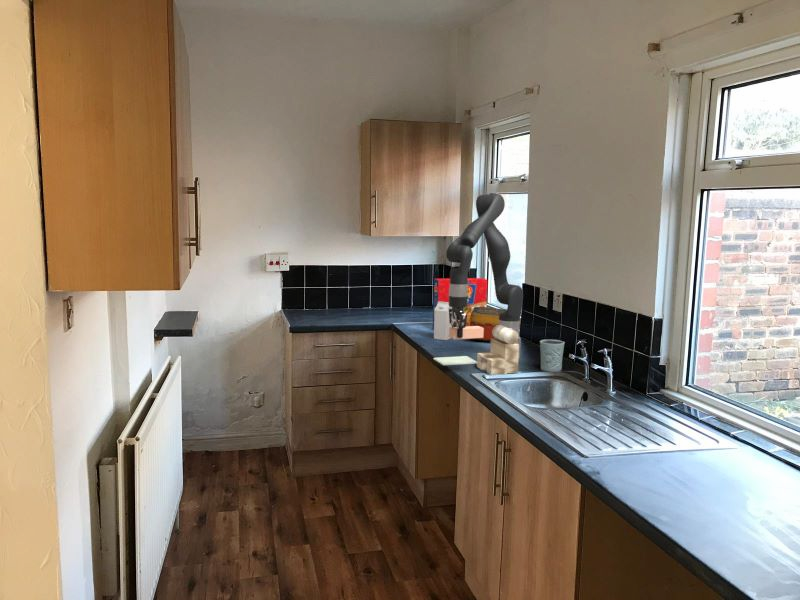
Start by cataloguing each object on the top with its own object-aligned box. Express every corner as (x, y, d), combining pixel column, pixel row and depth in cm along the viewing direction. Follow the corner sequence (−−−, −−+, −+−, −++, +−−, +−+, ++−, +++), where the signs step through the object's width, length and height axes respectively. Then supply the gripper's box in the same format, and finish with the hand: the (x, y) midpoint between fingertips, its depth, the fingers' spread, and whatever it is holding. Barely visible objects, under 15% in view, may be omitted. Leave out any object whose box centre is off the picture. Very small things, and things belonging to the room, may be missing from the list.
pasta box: (437, 331, 364) (438, 280, 360) (432, 329, 371) (433, 278, 367) (485, 330, 371) (487, 279, 367) (480, 327, 379) (481, 278, 375)
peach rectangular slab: (478, 335, 279) (478, 325, 279) (483, 337, 275) (483, 328, 274) (449, 337, 275) (449, 327, 275) (454, 339, 270) (454, 329, 270)
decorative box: (473, 336, 357) (471, 305, 355) (515, 335, 350) (513, 304, 348) (465, 345, 338) (462, 313, 336) (509, 345, 331) (507, 312, 329)
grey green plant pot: (545, 372, 278) (547, 344, 277) (534, 367, 288) (535, 339, 286) (567, 371, 281) (569, 343, 279) (555, 366, 291) (556, 338, 289)
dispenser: (502, 365, 290) (504, 324, 287) (517, 373, 276) (519, 330, 274) (476, 367, 286) (478, 325, 283) (491, 375, 273) (492, 331, 270)
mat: (466, 357, 304) (466, 355, 304) (477, 363, 293) (477, 362, 292) (433, 359, 299) (433, 357, 299) (443, 365, 288) (443, 364, 288)
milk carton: (440, 336, 350) (441, 300, 347) (452, 338, 346) (453, 301, 344) (433, 339, 344) (434, 302, 341) (446, 340, 340) (447, 303, 338)
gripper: (474, 297, 265) (472, 339, 268) (459, 292, 279) (458, 332, 281) (456, 297, 263) (455, 340, 266) (443, 292, 277) (442, 333, 279)
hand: (457, 336), depth 274 cm, fingers closed on peach rectangular slab, 5 cm apart
